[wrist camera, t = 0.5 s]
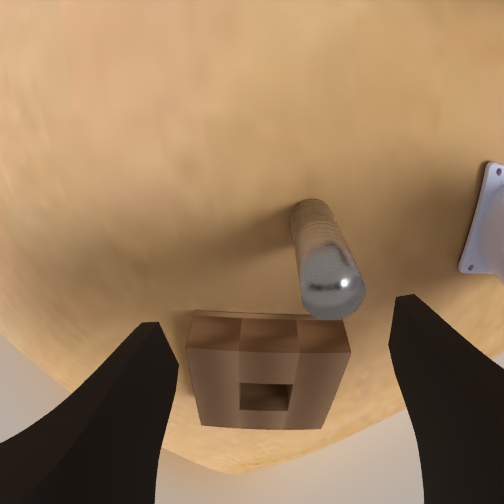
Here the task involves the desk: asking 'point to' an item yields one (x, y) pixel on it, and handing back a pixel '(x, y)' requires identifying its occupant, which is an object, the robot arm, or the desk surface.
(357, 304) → the pin
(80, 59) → the desk surface
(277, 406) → the bore block
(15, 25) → the desk surface
